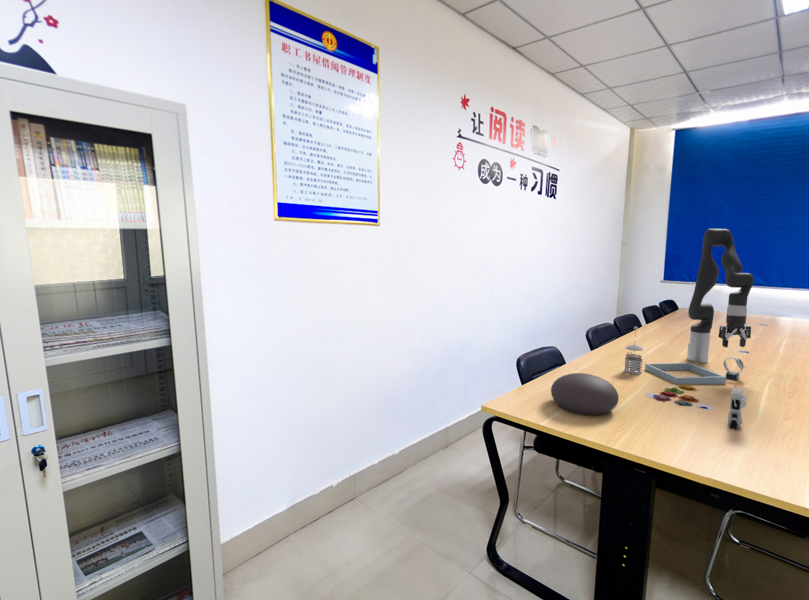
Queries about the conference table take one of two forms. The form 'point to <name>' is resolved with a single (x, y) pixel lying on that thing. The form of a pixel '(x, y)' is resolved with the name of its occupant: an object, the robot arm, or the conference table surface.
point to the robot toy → (736, 408)
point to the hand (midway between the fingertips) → (733, 346)
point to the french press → (633, 359)
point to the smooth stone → (584, 394)
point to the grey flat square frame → (708, 379)
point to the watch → (731, 374)
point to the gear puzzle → (672, 393)
